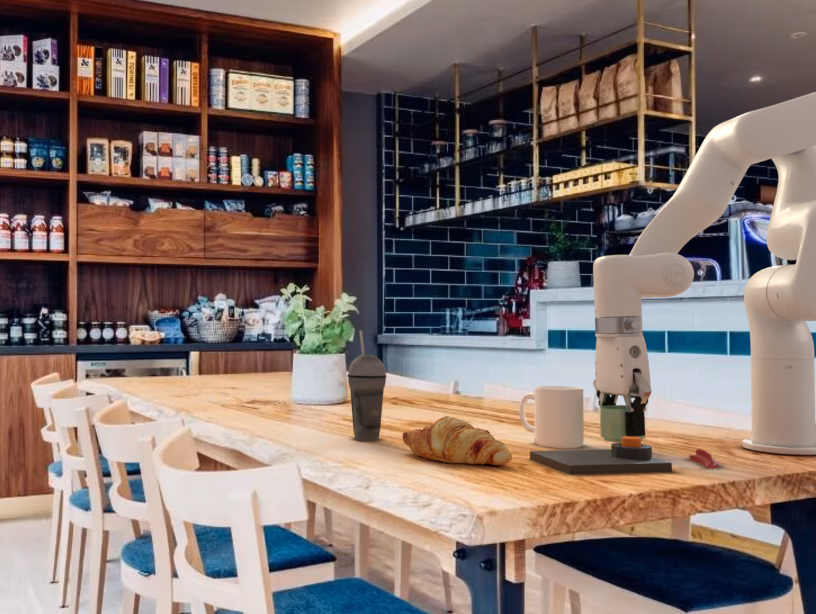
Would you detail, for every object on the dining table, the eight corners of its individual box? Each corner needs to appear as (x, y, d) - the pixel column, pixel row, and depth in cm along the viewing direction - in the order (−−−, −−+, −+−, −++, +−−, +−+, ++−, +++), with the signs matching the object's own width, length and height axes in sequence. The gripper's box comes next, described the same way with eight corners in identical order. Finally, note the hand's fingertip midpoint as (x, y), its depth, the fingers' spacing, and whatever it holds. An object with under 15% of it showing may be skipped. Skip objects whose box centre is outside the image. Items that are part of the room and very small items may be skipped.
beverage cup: (385, 442, 148) (385, 330, 149) (344, 441, 149) (345, 330, 150) (387, 437, 155) (388, 330, 156) (349, 436, 156) (349, 330, 157)
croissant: (522, 489, 124) (536, 439, 127) (487, 464, 118) (503, 413, 121) (413, 467, 140) (428, 423, 142) (377, 444, 134) (394, 399, 137)
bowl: (630, 436, 144) (629, 404, 145) (653, 441, 137) (652, 408, 138) (593, 438, 143) (591, 406, 143) (615, 443, 136) (613, 410, 136)
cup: (568, 450, 140) (568, 390, 141) (507, 442, 149) (507, 386, 150) (592, 445, 146) (592, 387, 147) (532, 438, 155) (531, 383, 155)
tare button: (634, 446, 128) (634, 436, 128) (644, 449, 125) (644, 438, 125) (617, 446, 128) (617, 436, 128) (627, 449, 125) (627, 439, 125)
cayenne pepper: (691, 456, 135) (691, 444, 135) (723, 458, 133) (723, 446, 133) (682, 467, 125) (682, 454, 125) (716, 470, 123) (716, 456, 123)
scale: (625, 457, 133) (624, 438, 133) (674, 472, 120) (674, 451, 121) (529, 460, 131) (529, 440, 131) (569, 475, 118) (569, 454, 118)
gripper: (669, 327, 133) (673, 438, 132) (611, 327, 150) (615, 425, 150) (626, 328, 132) (630, 441, 131) (573, 328, 149) (576, 427, 148)
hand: (622, 432), depth 140 cm, fingers closed on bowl, 7 cm apart
